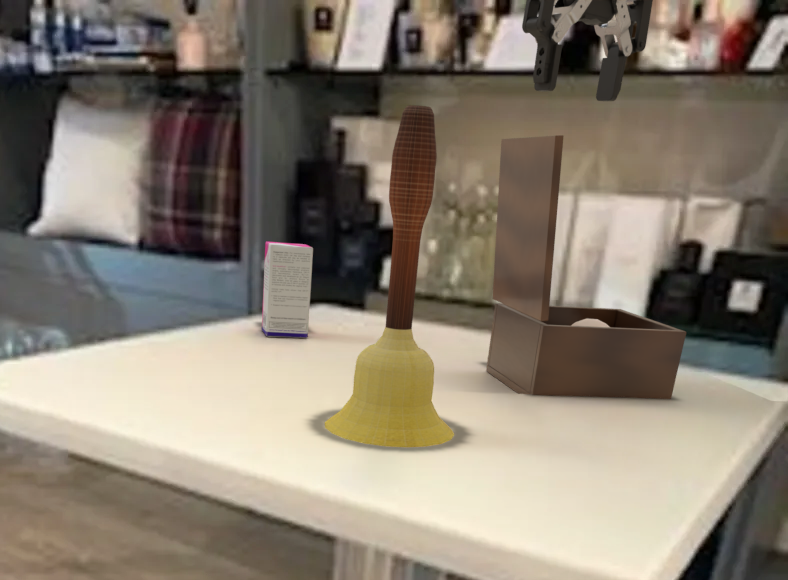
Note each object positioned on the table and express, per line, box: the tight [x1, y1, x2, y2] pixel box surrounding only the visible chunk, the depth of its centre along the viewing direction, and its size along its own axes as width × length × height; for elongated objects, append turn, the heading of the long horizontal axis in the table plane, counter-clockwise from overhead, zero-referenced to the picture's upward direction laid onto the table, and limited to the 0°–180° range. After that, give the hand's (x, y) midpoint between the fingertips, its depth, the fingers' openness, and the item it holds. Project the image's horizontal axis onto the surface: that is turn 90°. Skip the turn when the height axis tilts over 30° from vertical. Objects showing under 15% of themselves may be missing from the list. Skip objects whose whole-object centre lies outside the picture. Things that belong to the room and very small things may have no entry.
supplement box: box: [261, 240, 314, 339], centre depth 116 cm, size 6×6×12 cm
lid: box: [492, 134, 565, 321], centre depth 90 cm, size 16×16×1 cm
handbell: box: [324, 104, 455, 448], centre depth 70 cm, size 12×12×25 cm
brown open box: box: [485, 302, 687, 400], centre depth 97 cm, size 16×16×8 cm
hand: (575, 96), depth 85 cm, fingers open, 8 cm apart
